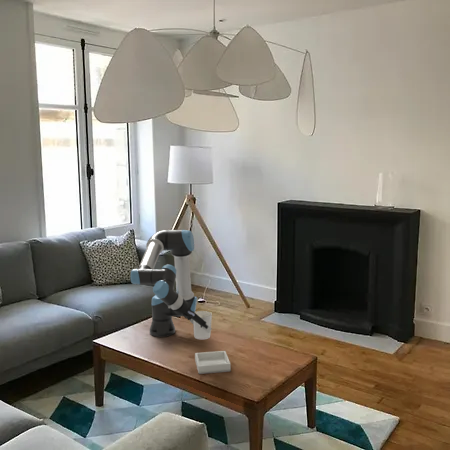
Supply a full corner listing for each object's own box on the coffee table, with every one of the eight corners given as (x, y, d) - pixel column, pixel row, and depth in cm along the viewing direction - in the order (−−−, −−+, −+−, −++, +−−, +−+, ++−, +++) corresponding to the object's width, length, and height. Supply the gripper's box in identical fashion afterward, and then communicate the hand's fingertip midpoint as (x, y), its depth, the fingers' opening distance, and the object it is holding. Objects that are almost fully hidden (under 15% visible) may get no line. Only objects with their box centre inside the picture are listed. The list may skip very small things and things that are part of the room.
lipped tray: (195, 360, 272) (194, 353, 271) (225, 357, 275) (225, 350, 274) (198, 374, 257) (198, 366, 256) (230, 371, 259) (230, 363, 258)
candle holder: (209, 341, 260) (209, 318, 258) (190, 339, 262) (190, 316, 260) (213, 334, 269) (214, 311, 267) (195, 332, 271) (195, 310, 270)
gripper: (161, 304, 261) (188, 328, 273) (185, 316, 244) (212, 340, 256) (170, 292, 263) (196, 316, 275) (194, 303, 246) (221, 327, 259)
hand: (204, 328), depth 266 cm, fingers closed on candle holder, 9 cm apart
